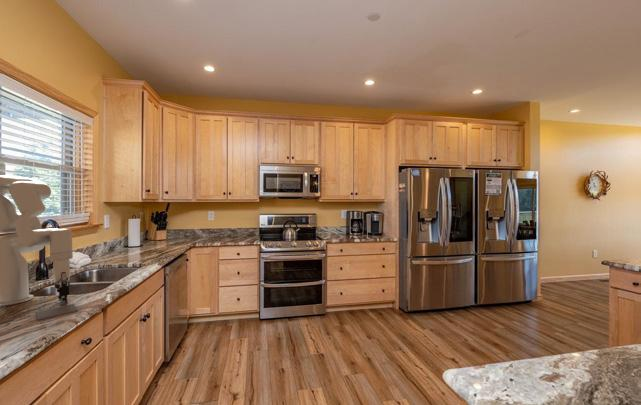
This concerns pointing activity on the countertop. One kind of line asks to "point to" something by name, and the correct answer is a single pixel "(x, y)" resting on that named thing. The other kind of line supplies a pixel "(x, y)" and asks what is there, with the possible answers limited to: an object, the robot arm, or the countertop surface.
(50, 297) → the countertop surface
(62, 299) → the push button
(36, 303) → the countertop surface
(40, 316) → the charcoal mat
